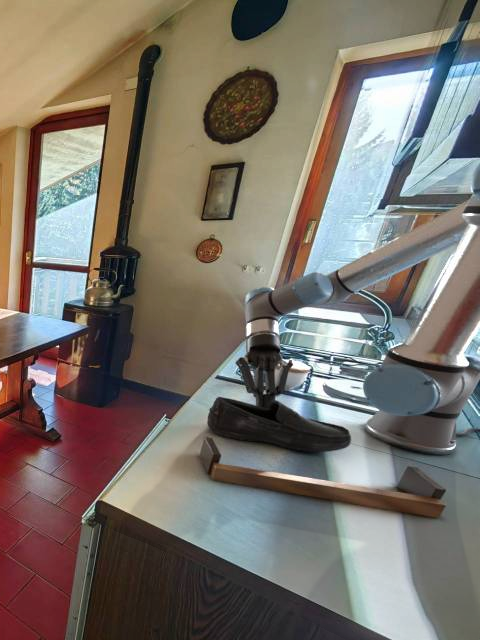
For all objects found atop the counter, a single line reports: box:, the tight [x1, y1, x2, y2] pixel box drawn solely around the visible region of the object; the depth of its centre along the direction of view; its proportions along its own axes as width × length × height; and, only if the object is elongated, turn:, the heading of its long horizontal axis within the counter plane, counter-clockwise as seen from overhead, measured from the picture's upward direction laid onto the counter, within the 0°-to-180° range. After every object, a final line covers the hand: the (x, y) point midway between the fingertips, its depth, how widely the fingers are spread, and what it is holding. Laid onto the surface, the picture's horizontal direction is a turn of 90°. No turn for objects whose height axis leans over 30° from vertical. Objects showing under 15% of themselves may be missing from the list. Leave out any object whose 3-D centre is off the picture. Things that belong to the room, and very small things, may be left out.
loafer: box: [206, 396, 352, 453], centre depth 94 cm, size 10×29×10 cm, turn 74°
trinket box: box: [275, 358, 311, 391], centre depth 127 cm, size 11×11×9 cm
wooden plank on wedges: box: [199, 436, 447, 519], centre depth 79 cm, size 38×10×5 cm, turn 73°
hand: (266, 419), depth 100 cm, fingers closed
